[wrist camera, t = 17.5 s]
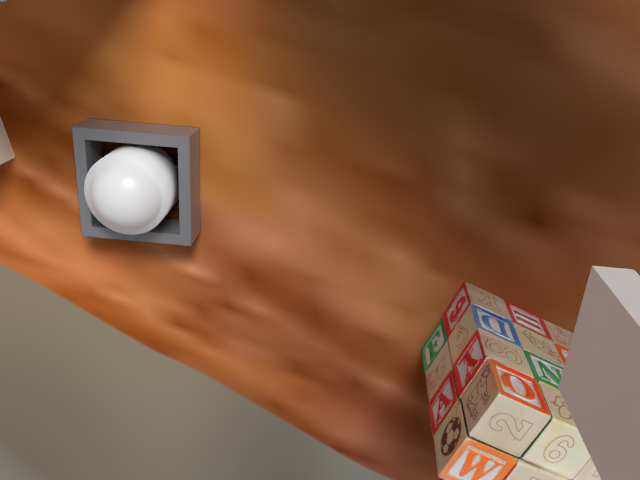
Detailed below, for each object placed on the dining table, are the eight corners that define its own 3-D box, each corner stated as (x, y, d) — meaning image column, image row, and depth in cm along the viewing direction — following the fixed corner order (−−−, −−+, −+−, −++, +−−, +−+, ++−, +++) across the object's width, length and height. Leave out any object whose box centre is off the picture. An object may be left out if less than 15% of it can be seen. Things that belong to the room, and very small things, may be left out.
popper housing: (88, 118, 38) (71, 126, 36) (199, 127, 38) (189, 137, 36) (97, 222, 41) (81, 236, 39) (200, 231, 41) (191, 246, 39)
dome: (101, 137, 38) (69, 157, 34) (181, 144, 38) (158, 165, 34) (107, 212, 40) (77, 240, 36) (182, 219, 40) (161, 248, 36)
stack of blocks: (728, 400, 43) (855, 549, 32) (671, 460, 46) (771, 619, 35) (462, 279, 41) (499, 394, 30) (417, 349, 43) (436, 480, 32)
